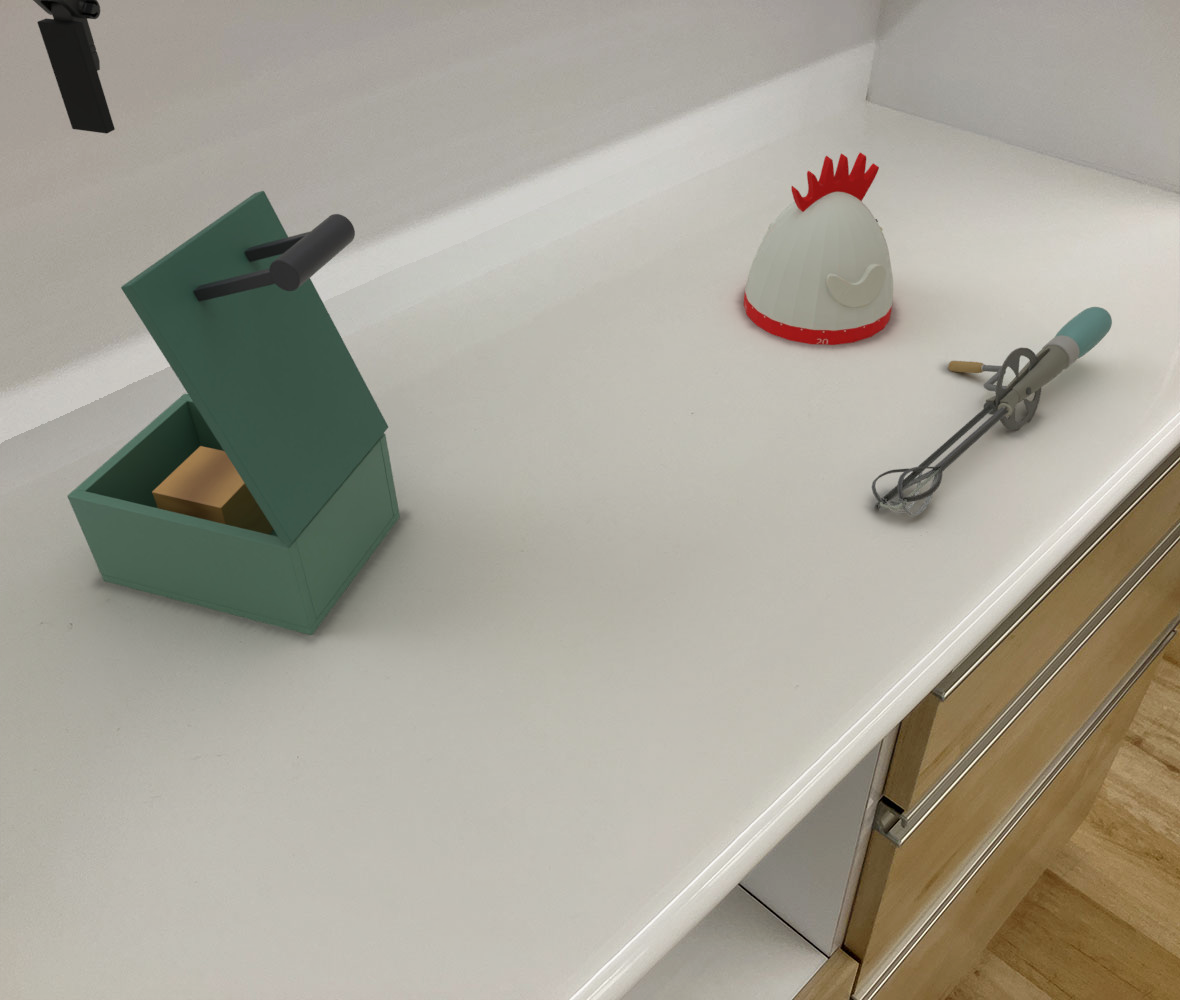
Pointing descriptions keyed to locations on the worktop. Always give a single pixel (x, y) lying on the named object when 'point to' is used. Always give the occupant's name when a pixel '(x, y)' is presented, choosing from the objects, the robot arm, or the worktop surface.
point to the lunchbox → (228, 532)
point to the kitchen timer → (824, 263)
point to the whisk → (1004, 399)
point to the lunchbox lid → (263, 355)
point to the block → (211, 492)
